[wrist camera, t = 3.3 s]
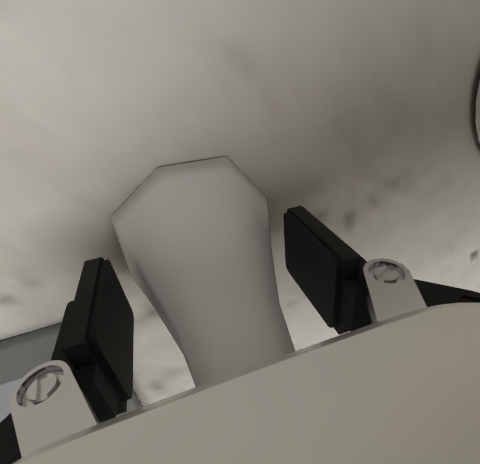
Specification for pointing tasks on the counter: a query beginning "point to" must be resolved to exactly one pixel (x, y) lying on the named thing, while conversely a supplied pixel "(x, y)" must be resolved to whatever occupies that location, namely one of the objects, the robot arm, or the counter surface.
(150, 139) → the counter surface
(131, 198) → the flask
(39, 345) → the tray
